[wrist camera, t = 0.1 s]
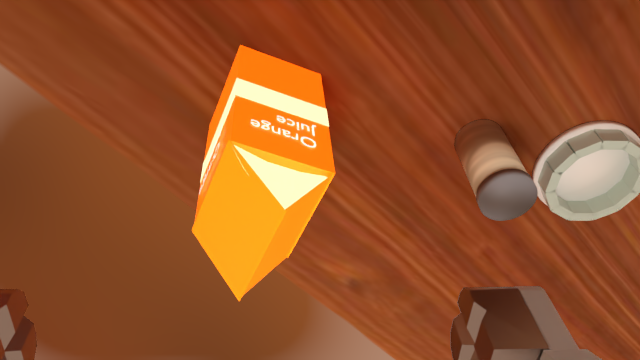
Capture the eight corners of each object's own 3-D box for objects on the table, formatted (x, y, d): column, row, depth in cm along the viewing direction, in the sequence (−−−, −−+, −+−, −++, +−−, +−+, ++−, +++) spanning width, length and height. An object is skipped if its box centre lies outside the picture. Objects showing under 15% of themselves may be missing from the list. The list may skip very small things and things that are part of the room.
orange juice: (322, 74, 51) (345, 227, 35) (285, 150, 56) (291, 315, 40) (238, 43, 49) (222, 192, 33) (207, 125, 54) (180, 290, 38)
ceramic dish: (550, 119, 56) (561, 135, 54) (657, 121, 57) (673, 137, 55) (519, 206, 63) (528, 224, 60) (616, 206, 63) (628, 223, 61)
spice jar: (459, 118, 55) (486, 175, 48) (509, 118, 55) (545, 175, 48) (448, 160, 58) (473, 220, 51) (497, 161, 59) (528, 220, 51)
